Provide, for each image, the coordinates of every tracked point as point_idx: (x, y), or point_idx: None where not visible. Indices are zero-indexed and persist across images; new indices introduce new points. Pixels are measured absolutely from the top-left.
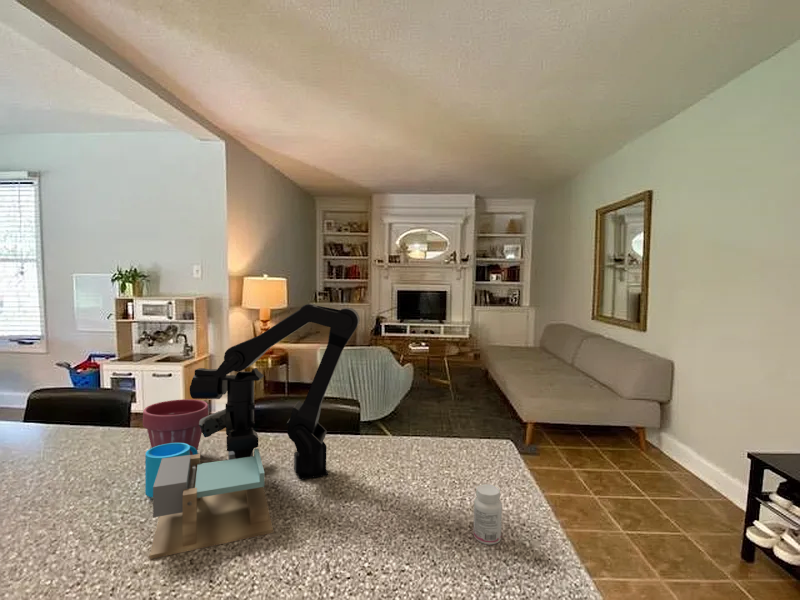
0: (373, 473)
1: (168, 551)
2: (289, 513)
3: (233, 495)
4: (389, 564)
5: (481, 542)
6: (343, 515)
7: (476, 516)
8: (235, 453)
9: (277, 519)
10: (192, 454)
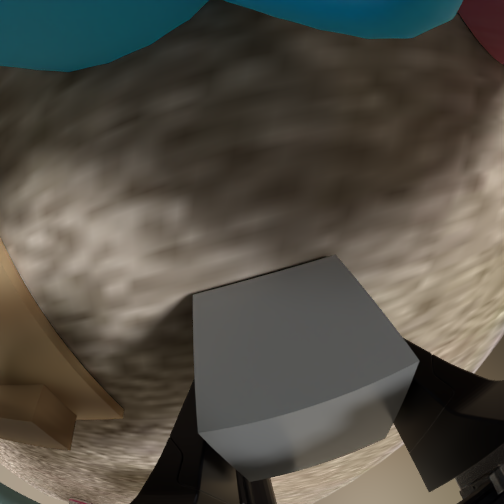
0: None
1: None
2: None
3: (15, 351)
4: (7, 460)
5: (70, 497)
6: (63, 469)
7: None
8: (147, 488)
9: None
10: (496, 41)
